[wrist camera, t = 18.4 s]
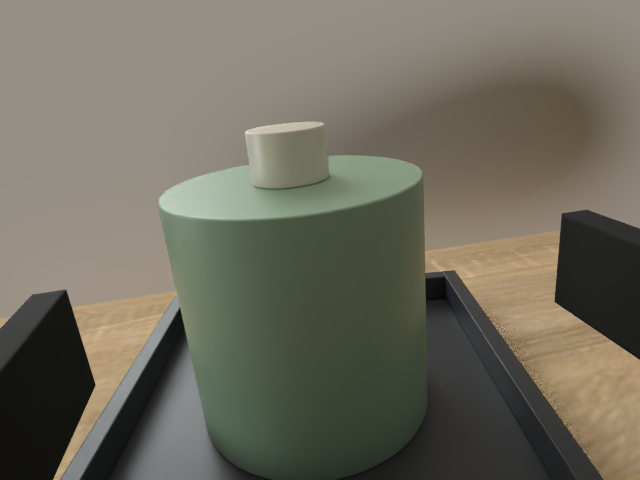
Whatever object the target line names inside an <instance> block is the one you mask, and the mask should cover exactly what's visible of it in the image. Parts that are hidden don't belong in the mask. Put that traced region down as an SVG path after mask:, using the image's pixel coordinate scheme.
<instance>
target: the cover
mask: <svg viewBox="0 0 640 480" xmlns="http://www.w3.org/2000/svg"><path fill="white" fill-rule="evenodd" d="M245 137H246V145H247V151H248V158H249V165H244V166H239V167H235V168H230V169H225V170H221V171H217V172H213V173H209V174H206V175H203V176H200V177H196V178H193V179H191V180H188V181H185V182H183V183H181V184H178V185H176V186H174V187H172V188H171V189H169V190H168V191H166V192H164V194H162V195H161V196H160V198H159V200H158V208H159V213H160V218H161V222H162V227H163V232H164V236H165V241H166V245H167V250H168V254H169V259H170V263H171V268H172V272H173V277H174V282H175V286H176V291H177V295H178V300H179V304H180V309H181V314H182V318H183V323H184V327H185V332H186V336H187V341H188V345H189V350H190V355H191V359H192V364H193V368H194V373H195V377H196V382H197V386H198V391H199V396H200V400H201V405H202V409H203V414H204V418H205V423H206V427H207V431H208V434H209V436H210V439H211V441H212V442H213V444H214V445H215V447H216V448H217V450H218V451H219V452H220V453H221V454H222V455H223V456H224V457H225V458H226V459H227V460H229V461H230V462H232V463H233V464H234V465H236V466H237V467H239V468H241V469H243V470H245V471H247V472H249V473H251V474H254V475H257V476H260V477H263V478H267V479H271V480H337V479H341V478H345V477H349V476H352V475H355V474H358V473H361V472H363V471H366V470H369V469H371V468H373V467H375V466H377V465H379V464H381V463H383V462H384V461H386V460H387V459H389V458H390V457H392V456H393V455H395V454H396V453H397V452H398V451H400V450H401V449H402V448H403V447H404V446H405V445H406V444H407V443H408V442H409V441H410V440H411V439H412V437H413V436H414V435H415V434H416V432H417V430H418V429H419V427H420V425H421V424H422V422H423V419H424V416H425V414H426V410H427V404H428V386H427V337H426V288H425V242H424V240H425V239H424V191H423V172H422V171H421V170H420V168H419V167H417V166H415V165H413V164H411V163H408V162H405V161H401V160H397V159H391V158H383V157H373V156H328V152H327V141H326V129H325V124H324V123H321V122H298V123H286V124H277V125H269V126H263V127H258V128H254V129H250V130H248V131H246V132H245Z"/></svg>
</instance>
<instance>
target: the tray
mask: <svg viewBox="0 0 640 480" xmlns="http://www.w3.org/2000/svg"><path fill="white" fill-rule="evenodd" d="M425 288H426V337H427V386H428V404H427V410H426V414H425V416H424V419H423V422H422V424H421V425H420V427H419V429H418V430H417V432H416V434H415V435H414V436H413V437H412V439H411V440H410V441H409V442H408V443H407V444H406V445H405V446H404V447H403V448H402V449H401V450H400V451H398V452H397V453H396V454H395V455H393V456H392V457H390V458H389V459H387V460H386V461H384V462H383V463H381V464H379V465H377V466H375V467H373V468H371V469H369V470H366V471H363V472H361V473H358V474H355V475H352V476H349V477H345V478H341V479H337V480H603V478H602V477H601V475H600V474H599V473H598V471H597V470H596V468H595V467H594V466H593V464H592V463H591V461H590V460H589V459H588V457H587V456H586V454H585V453H584V452H583V450H582V449H581V447H580V446H579V445H578V443H577V442H576V440H575V439H574V438H573V436H572V435H571V433H570V432H569V431H568V429H567V428H566V426H565V425H564V424H563V422H562V421H561V419H560V418H559V416H558V415H557V414H556V412H555V411H554V409H553V408H552V407H551V405H550V404H549V402H548V401H547V400H546V398H545V397H544V395H543V394H542V393H541V391H540V390H539V388H538V387H537V386H536V384H535V383H534V381H533V380H532V379H531V377H530V376H529V374H528V373H527V372H526V370H525V369H524V367H523V366H522V365H521V363H520V362H519V360H518V359H517V358H516V356H515V355H514V353H513V352H512V350H511V349H510V348H509V346H508V345H507V343H506V342H505V341H504V339H503V338H502V336H501V335H500V334H499V332H498V331H497V329H496V328H495V327H494V325H493V324H492V322H491V321H490V320H489V318H488V317H487V315H486V314H485V313H484V311H483V310H482V308H481V307H480V306H479V304H478V303H477V301H476V300H475V299H474V297H473V296H472V294H471V293H470V291H469V290H468V289H467V287H466V286H465V284H464V283H463V282H462V280H461V279H460V277H459V276H458V275H457V273H456V272H455V271H454V270H453V271H443V272H432V273H425ZM60 480H271V479H267V478H263V477H260V476H257V475H254V474H251V473H249V472H247V471H245V470H243V469H241V468H239V467H237V466H236V465H234V464H233V463H232V462H230V461H229V460H227V459H226V458H225V457H224V456H223V455H222V454H221V453H220V452H219V451H218V450H217V448H216V447H215V445H214V444H213V442H212V441H211V439H210V436H209V434H208V431H207V427H206V423H205V418H204V414H203V409H202V405H201V400H200V396H199V391H198V386H197V382H196V377H195V373H194V368H193V364H192V359H191V355H190V350H189V345H188V341H187V336H186V332H185V327H184V323H183V318H182V314H181V309H180V304H179V300H178V296H175V298H174V299H173V301H172V302H171V304H170V306H169V307H168V309H167V310H166V312H165V313H164V315H163V317H162V318H161V320H160V321H159V323H158V325H157V326H156V328H155V329H154V331H153V333H152V334H151V336H150V337H149V339H148V341H147V342H146V344H145V345H144V347H143V348H142V350H141V352H140V353H139V355H138V356H137V358H136V360H135V361H134V363H133V364H132V366H131V368H130V369H129V371H128V372H127V374H126V375H125V377H124V379H123V380H122V382H121V383H120V385H119V387H118V388H117V390H116V391H115V393H114V395H113V396H112V398H111V399H110V401H109V403H108V404H107V406H106V407H105V409H104V410H103V412H102V414H101V415H100V417H99V418H98V420H97V422H96V423H95V425H94V426H93V428H92V430H91V431H90V433H89V434H88V436H87V437H86V439H85V441H84V442H83V444H82V445H81V447H80V449H79V450H78V452H77V453H76V455H75V457H74V458H73V460H72V461H71V463H70V465H69V466H68V468H67V469H66V471H65V472H64V474H63V476H62V477H61V479H60Z"/></svg>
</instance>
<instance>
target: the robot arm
mask: <svg viewBox="0 0 640 480" xmlns="http://www.w3.org/2000/svg"><path fill="white" fill-rule="evenodd" d="M555 302H556V303H557V304H559V305H560V306H561V307H563V308H564V309H566V310H567V311H569V312H570V313H572V314H573V315H575V316H576V317H578V318H579V319H581V320H582V321H584V322H585V323H587V324H588V325H589V326H591V327H592V328H594V329H595V330H597V331H598V332H600V333H601V334H603V335H604V336H606V337H607V338H609V339H610V340H612V341H613V342H615V343H616V344H617V345H619V346H620V347H622V348H623V349H625V350H626V351H628V352H629V353H631V354H632V355H634V356H635V357H637V358H638V359H640V229H639V228H636V227H633V226H631V225H627V224H625V223H622V222H619V221H616V220H614V219H611V218H608V217H605V216H602V215H600V214H597V213H594V212H591V211H589V210H583V211H576V212H569V213H563V214H562V220H561V232H560V243H559V255H558V267H557V279H556V291H555ZM94 387H95V382H94V379H93V375H92V372H91V369H90V366H89V362H88V359H87V356H86V353H85V349H84V346H83V343H82V340H81V336H80V333H79V330H78V327H77V323H76V320H75V317H74V313H73V310H72V307H71V304H70V301H69V297H68V294H67V291H66V290H61V291H54V292H47V293H41V294H34V295H32V296H31V297H30V298H29V299H28V300H27V301H26V302H25V303H24V304H23V305H22V306H21V307H20V308H19V309H18V310H17V312H16V313H15V314H14V315H13V316H12V317H11V318H10V319H9V320H8V321H7V322H6V323H5V324H4V325H3V326H2V327H1V329H0V480H53V478H54V476H55V474H56V472H57V469H58V467H59V465H60V463H61V460H62V458H63V456H64V454H65V452H66V449H67V447H68V445H69V443H70V440H71V438H72V436H73V434H74V432H75V429H76V427H77V425H78V423H79V421H80V418H81V416H82V414H83V412H84V409H85V407H86V405H87V403H88V401H89V398H90V396H91V394H92V392H93V389H94Z"/></svg>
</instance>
